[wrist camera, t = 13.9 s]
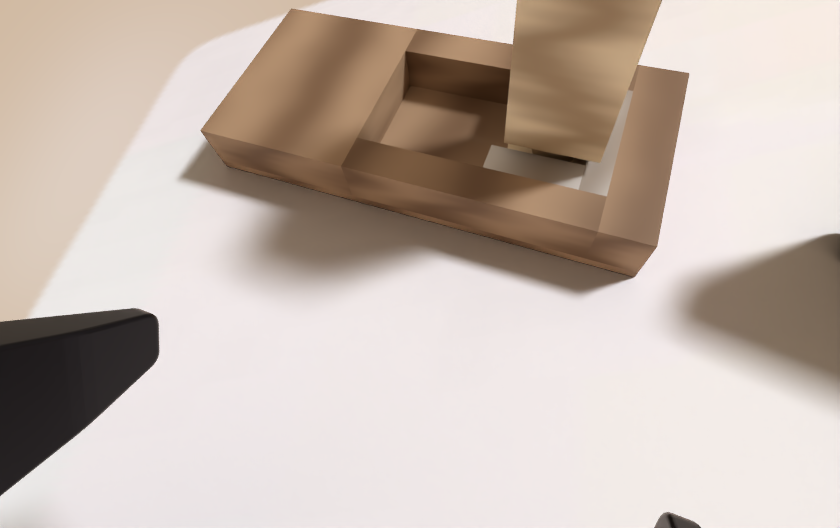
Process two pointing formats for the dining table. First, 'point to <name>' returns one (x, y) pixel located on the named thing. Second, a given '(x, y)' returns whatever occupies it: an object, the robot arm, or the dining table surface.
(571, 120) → the peg
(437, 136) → the keyhole board
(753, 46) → the dining table surface
